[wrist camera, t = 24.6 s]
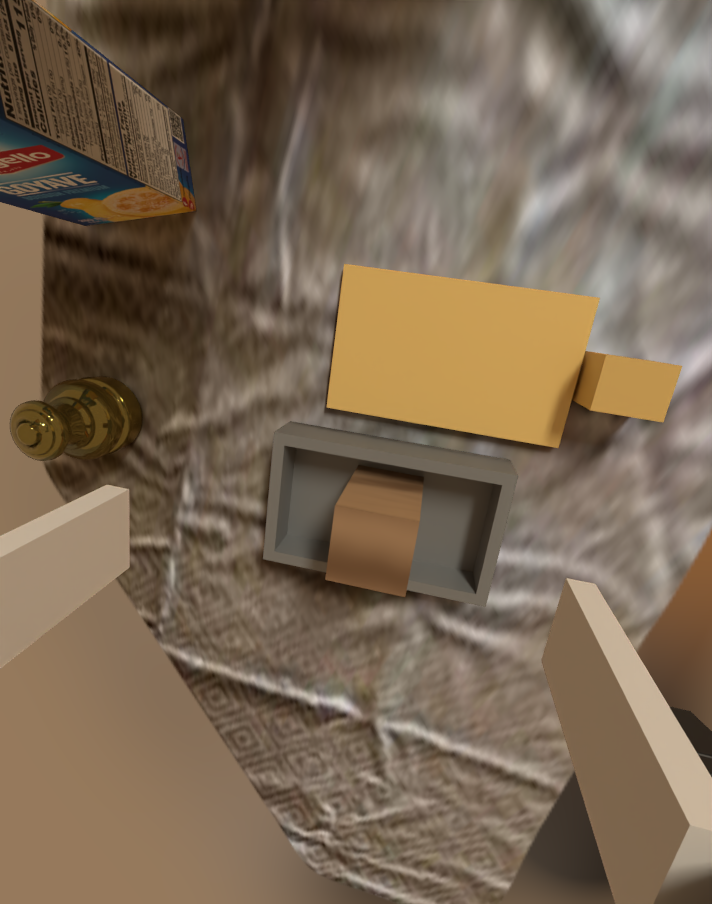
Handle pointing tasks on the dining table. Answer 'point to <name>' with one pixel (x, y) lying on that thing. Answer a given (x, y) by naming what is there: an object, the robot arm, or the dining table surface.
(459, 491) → the tub
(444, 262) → the dining table surface
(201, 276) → the dining table surface
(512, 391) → the lid
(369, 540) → the walnut block
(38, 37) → the beverage box
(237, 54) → the dining table surface
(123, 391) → the gold tapered round piece
